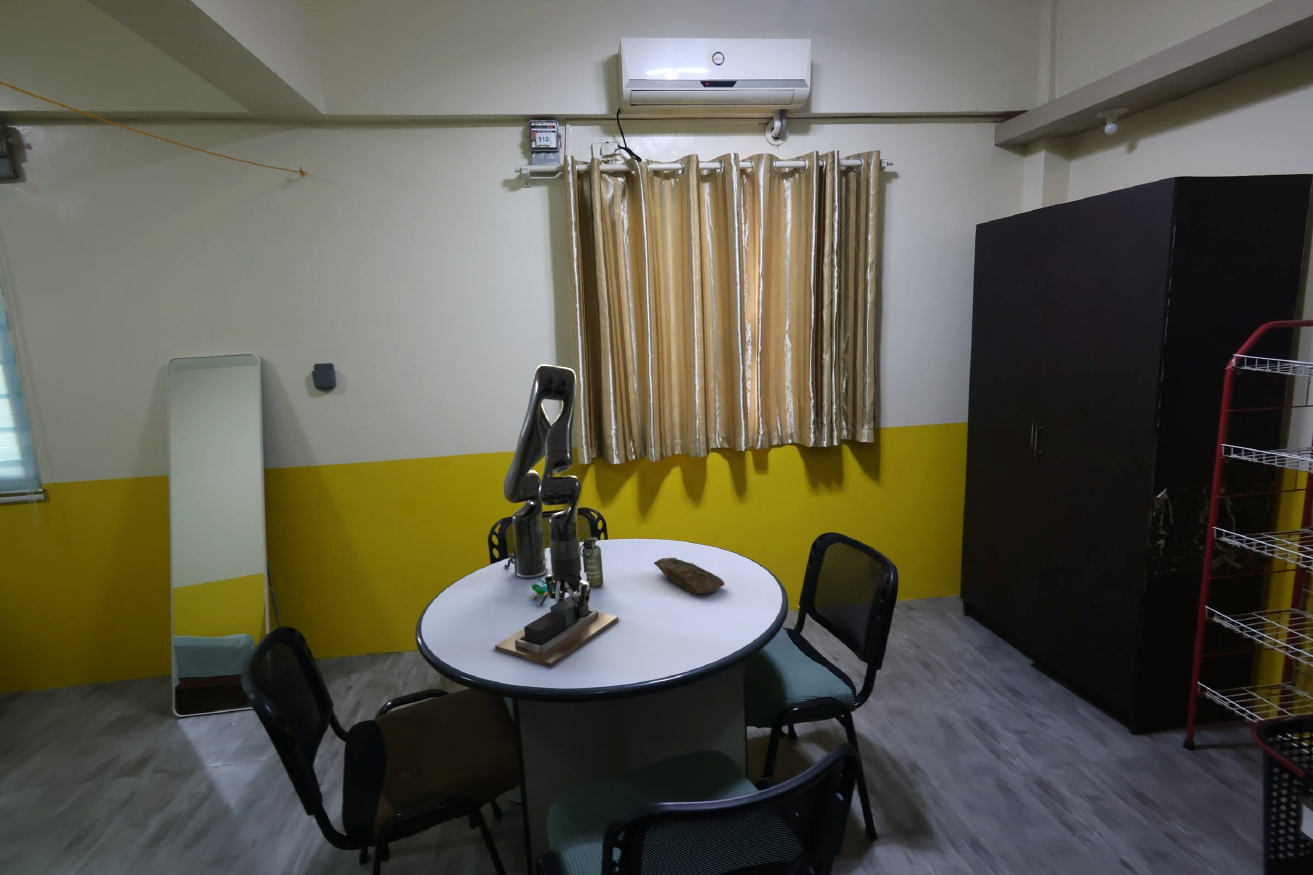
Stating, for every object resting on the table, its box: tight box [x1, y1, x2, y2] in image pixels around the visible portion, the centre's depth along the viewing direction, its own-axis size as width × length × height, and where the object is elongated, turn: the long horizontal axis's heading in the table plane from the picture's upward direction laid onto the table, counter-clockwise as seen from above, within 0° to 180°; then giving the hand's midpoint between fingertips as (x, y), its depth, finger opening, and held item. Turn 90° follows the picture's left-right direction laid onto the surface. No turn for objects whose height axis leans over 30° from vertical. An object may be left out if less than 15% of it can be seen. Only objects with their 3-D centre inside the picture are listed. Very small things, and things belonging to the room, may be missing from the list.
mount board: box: [494, 608, 619, 669], centre depth 154 cm, size 18×26×3 cm
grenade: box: [580, 536, 604, 589], centre depth 182 cm, size 6×6×15 cm
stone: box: [653, 557, 726, 594], centre depth 183 cm, size 11×27×6 cm, turn 34°
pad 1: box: [523, 611, 565, 646], centre depth 150 cm, size 5×9×4 cm, turn 148°
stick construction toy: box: [531, 578, 554, 607], centre depth 175 cm, size 12×7×8 cm
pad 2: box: [549, 595, 590, 628], centre depth 157 cm, size 5×9×4 cm, turn 148°
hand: (570, 616), depth 158 cm, fingers closed on pad 2, 5 cm apart
